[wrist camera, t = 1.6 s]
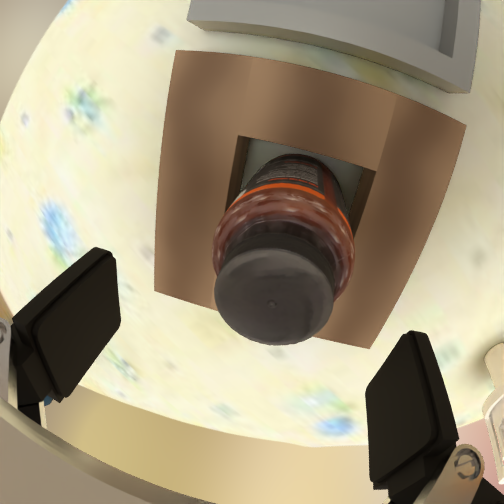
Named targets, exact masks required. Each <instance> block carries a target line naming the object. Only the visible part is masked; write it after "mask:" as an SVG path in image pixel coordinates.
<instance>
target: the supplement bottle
mask: <svg viewBox="0 0 504 504" xmlns="http://www.w3.org/2000/svg"><path fill="white" fill-rule="evenodd" d="M212 262H213V268H214V270H215V273H216V276H217V279H216V282H215V287H214V299H215V303H216V306H217V309H218V311H219V313H220V315H221V316H222V318H223V319H224V320H225V322H226V323H227V324H228V325H229V326H230V327H231V328H232V329H233V330H235V331H236V332H237V333H239V334H240V335H242V336H244V337H246V338H248V339H249V340H252V341H255V342H259V343H262V344H267V345H289V344H296V343H298V342H302V341H305V340H307V339H309V338H311V337H312V336H313V335H315V334H316V333H318V332H319V331H320V330H321V329H322V328H323V327H324V326H325V325H326V323H327V322H328V320H329V317H330V315H331V313H332V310H333V303H334V302H335V301H336V300H337V299H338V298H339V297H340V296H341V295H342V293H343V292H344V291H345V289H346V287H347V286H348V284H349V282H350V279H351V276H352V274H353V269H354V262H355V246H354V241H353V235H352V231H351V227H350V222H349V219H348V214H347V211H346V207H345V203H344V199H343V196H342V192H341V189H340V186H339V184H338V181H337V180H336V178H335V177H334V175H333V174H332V172H331V171H330V170H329V169H328V168H327V167H326V166H325V165H324V164H322V163H321V162H320V161H318V160H316V159H314V158H312V157H309V156H305V155H300V154H289V155H282V156H279V157H277V158H274V159H272V160H271V161H269V162H268V163H266V164H265V165H264V166H263V167H261V168H260V169H259V170H258V172H257V173H256V174H255V175H254V177H253V178H252V179H251V180H250V182H249V183H248V184H247V186H246V187H245V188H244V189H243V190H242V192H241V193H240V194H239V195H238V197H237V198H236V199H235V201H234V202H233V203H232V205H231V206H230V207H229V209H228V210H227V211H226V213H225V214H224V215H223V217H222V219H221V220H220V222H219V224H218V226H217V228H216V231H215V234H214V238H213V244H212Z"/></svg>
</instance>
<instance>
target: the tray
mask: <svg viewBox="0 0 504 504" xmlns="http://www.w3.org/2000/svg"><path fill="white" fill-rule="evenodd" d="M480 5H481V0H191V4H190V8H189V12H188V16H187V21H189V22H191V23H192V24H194V25H196V26H198V27H200V28H201V29H203V30H205V31H221V32H233V33H243V34H252V35H260V36H267V37H273V38H279V39H285V40H291V41H296V42H301V43H306V44H310V45H315V46H319V47H323V48H327V49H331V50H335V51H339V52H342V53H346V54H349V55H353V56H356V57H359V58H363V59H366V60H369V61H372V62H375V63H378V64H381V65H384V66H386V67H389V68H392V69H394V70H397V71H400V72H402V73H405V74H407V75H410V76H412V77H415V78H417V79H419V80H422V81H424V82H426V83H428V84H431V85H433V86H435V87H437V88H439V89H441V90H443V91H445V92H447V93H470V89H471V84H472V78H473V72H474V66H475V59H476V52H477V44H478V34H479V23H480Z"/></svg>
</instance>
